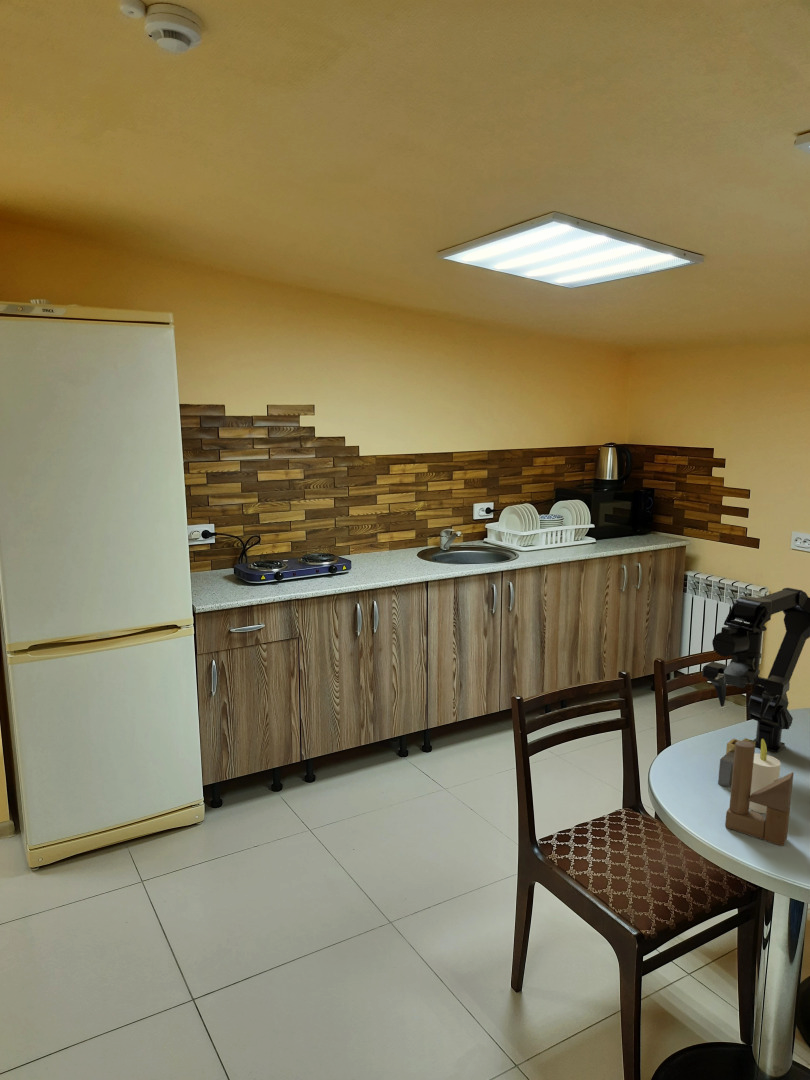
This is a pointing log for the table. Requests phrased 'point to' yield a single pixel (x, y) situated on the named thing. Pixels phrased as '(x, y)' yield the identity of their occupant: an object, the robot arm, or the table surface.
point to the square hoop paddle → (732, 744)
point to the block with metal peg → (726, 769)
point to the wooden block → (758, 800)
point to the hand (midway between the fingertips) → (741, 711)
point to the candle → (763, 774)
